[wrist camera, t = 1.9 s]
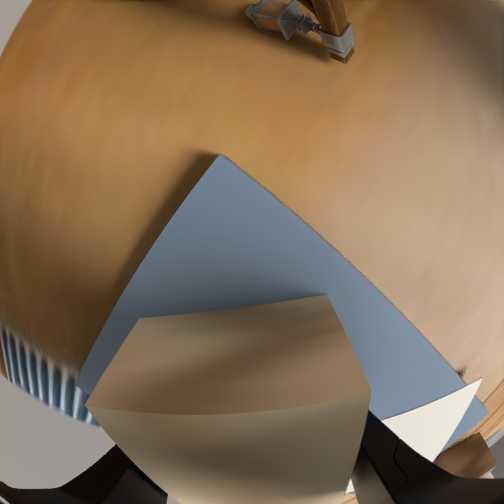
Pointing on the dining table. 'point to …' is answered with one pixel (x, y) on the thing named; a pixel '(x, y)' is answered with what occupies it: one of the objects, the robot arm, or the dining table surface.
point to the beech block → (239, 403)
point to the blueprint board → (284, 289)
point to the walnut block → (468, 458)
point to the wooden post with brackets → (308, 22)
